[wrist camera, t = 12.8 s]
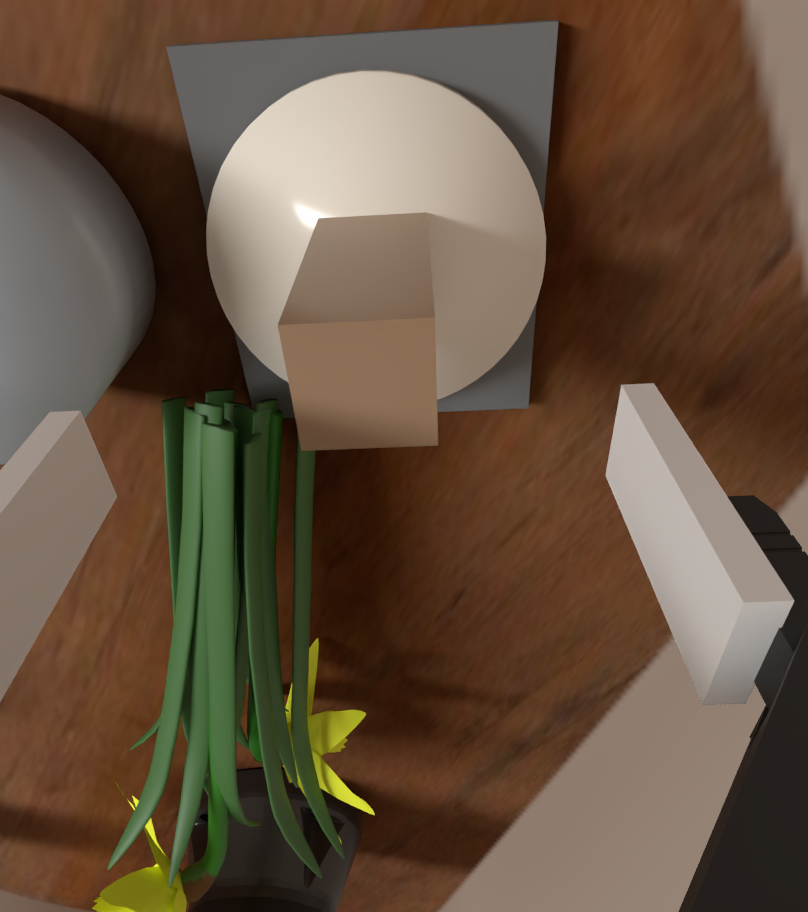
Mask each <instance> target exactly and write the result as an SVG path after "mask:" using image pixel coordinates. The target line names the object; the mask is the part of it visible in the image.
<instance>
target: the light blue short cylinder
mask: <svg viewBox="0 0 808 912" xmlns="http://www.w3.org/2000/svg"><path fill="white" fill-rule="evenodd" d="M155 291H156V283H155V273H154V265H153V261H152V256H151V252H150V248H149V245H148V242H147V239H146V237H145V234H144V231H143V229H142V226H141V224H140V222H139V220H138V218H137V216H136V214H135V212H134V210H133V208H132V206H131V205H130V203H129V202H128V200H127V198H126V197H125V195H124V194H123V192H122V191H121V189H120V187H119V186H118V185H117V183H116V182H115V181H114V180H113V178H112V177H111V176H110V175H109V173H108V172H107V171H106V170H105V168H104V167H103V166H102V165H101V164H100V163H99V162H98V161H97V160H96V159H95V158H94V157H93V156H92V155H91V154H90V152H89V151H88V150H87V149H86V148H85V147H83V146H82V145H81V144H80V143H79V142H78V141H76V140H75V139H74V138H73V137H72V136H71V135H69V134H68V133H67V132H66V131H65V130H63V129H62V128H60V127H59V126H57V125H56V124H55V123H53V122H52V121H50V120H49V119H47V118H46V117H45V116H43V115H41V114H40V113H38V112H36V111H34V110H32V109H31V108H29V107H27V106H25V105H23V104H22V103H20V102H17V101H15V100H13V99H10V98H8V97H6V96H3V95H1V94H0V465H1V464H6V463H7V462H8V461H9V460H10V458H11V457H12V456H13V455H14V454H15V453H16V451H17V450H18V449H19V448H20V447H21V445H22V444H23V443H24V442H25V441H26V440H27V438H28V437H29V436H30V435H31V434H32V432H33V431H34V430H35V429H36V428H37V427H38V425H39V424H40V423H41V422H42V421H43V419H44V418H45V417H46V416H47V415H48V414H49V412H61V411H81V413H82V415H83V418H84V419H85V418H86V417H87V415H88V414H89V413H90V411H91V410H92V408H93V407H94V406H95V404H96V403H97V402H98V400H99V399H100V398H101V396H102V395H103V394H104V392H105V391H106V390H107V388H108V387H109V385H110V384H111V383H112V381H113V380H114V379H115V377H116V376H117V375H118V373H119V372H120V371H121V369H122V368H123V367H124V365H125V364H126V362H127V361H128V360H129V358H130V357H131V356H132V354H133V353H134V352H135V350H136V349H137V348H138V346H139V345H140V343H141V341H142V340H143V338H144V336H145V334H146V333H147V330H148V327H149V325H150V322H151V319H152V315H153V310H154V305H155Z"/></svg>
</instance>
